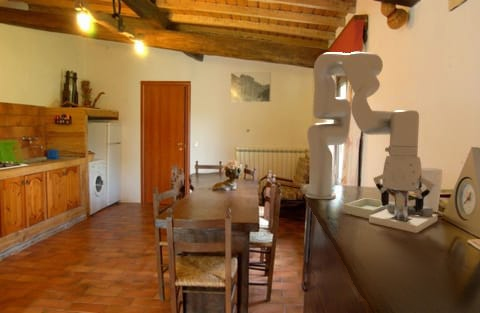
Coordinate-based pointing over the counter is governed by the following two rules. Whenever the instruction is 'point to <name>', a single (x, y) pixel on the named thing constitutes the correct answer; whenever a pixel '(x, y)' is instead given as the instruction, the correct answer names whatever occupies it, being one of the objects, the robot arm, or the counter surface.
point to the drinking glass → (433, 197)
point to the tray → (364, 207)
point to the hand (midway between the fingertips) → (401, 208)
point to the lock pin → (401, 205)
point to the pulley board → (414, 220)
